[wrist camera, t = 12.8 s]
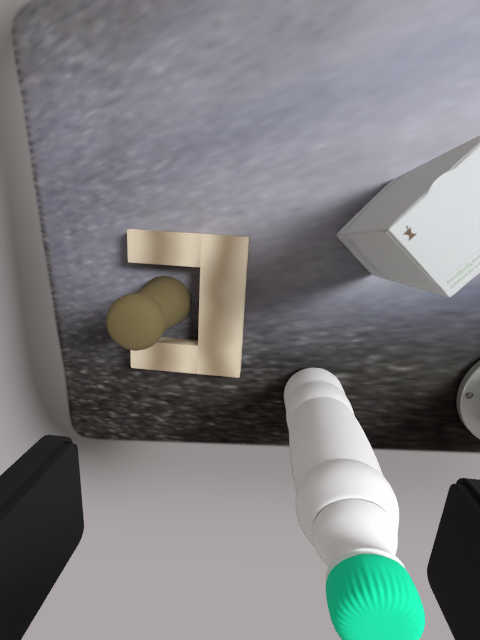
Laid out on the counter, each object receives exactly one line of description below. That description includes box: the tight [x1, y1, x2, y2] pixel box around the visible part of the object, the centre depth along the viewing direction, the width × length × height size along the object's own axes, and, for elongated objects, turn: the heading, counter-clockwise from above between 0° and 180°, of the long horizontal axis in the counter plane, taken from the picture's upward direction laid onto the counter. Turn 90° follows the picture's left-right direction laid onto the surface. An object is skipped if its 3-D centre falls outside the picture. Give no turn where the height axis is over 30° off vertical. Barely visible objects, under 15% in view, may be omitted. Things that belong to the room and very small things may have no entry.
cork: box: [106, 276, 191, 351], centre depth 33 cm, size 6×6×11 cm
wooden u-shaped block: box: [127, 229, 250, 378], centre depth 37 cm, size 13×16×2 cm
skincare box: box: [336, 136, 480, 298], centre depth 27 cm, size 8×7×16 cm
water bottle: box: [284, 368, 425, 640], centre depth 28 cm, size 7×7×25 cm
